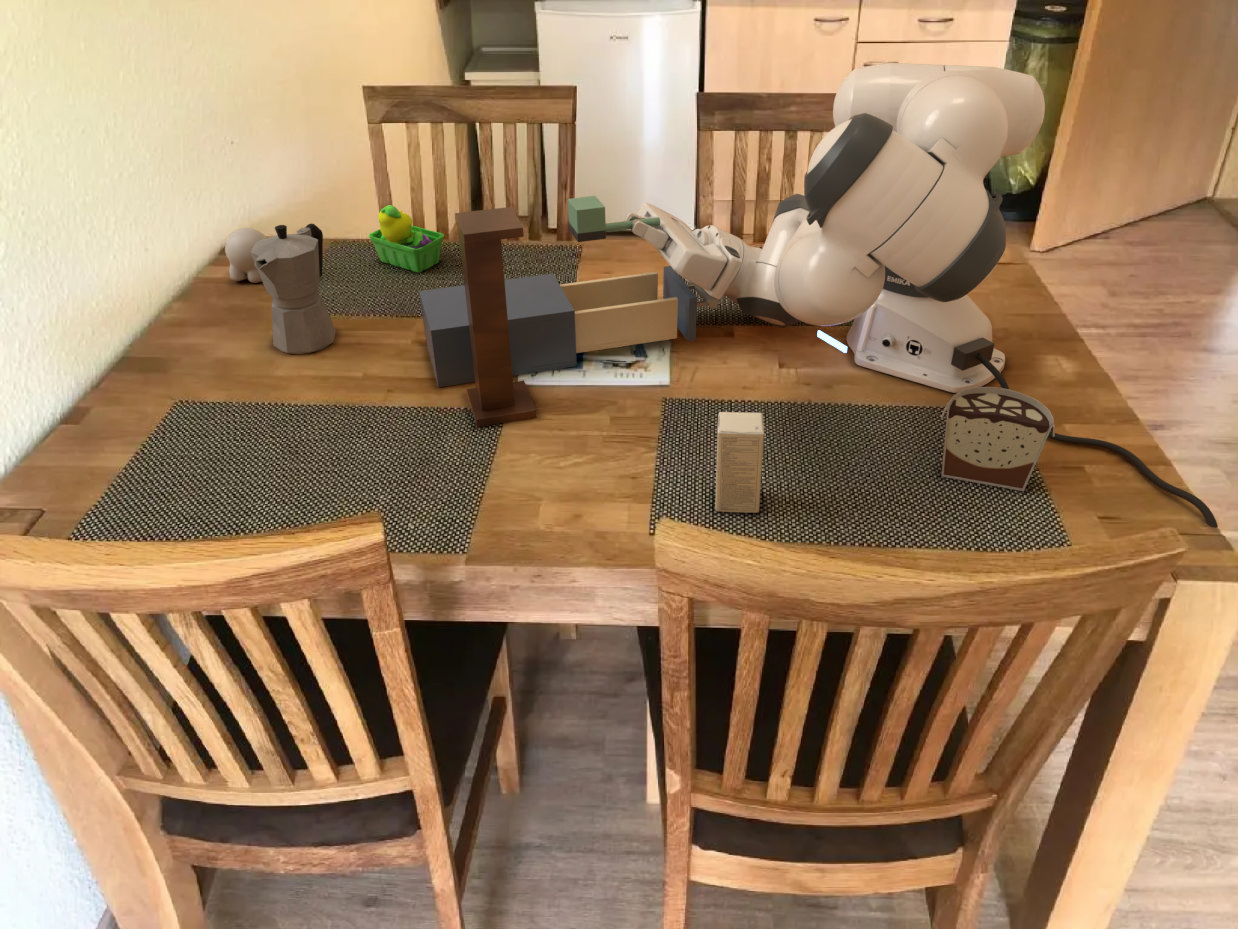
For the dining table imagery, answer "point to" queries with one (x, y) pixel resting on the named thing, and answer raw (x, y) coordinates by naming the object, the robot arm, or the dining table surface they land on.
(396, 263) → the fruit basket
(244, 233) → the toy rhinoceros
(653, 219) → the brush
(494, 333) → the pedestal
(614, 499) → the dining table surface
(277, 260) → the coffeepot
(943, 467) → the food container
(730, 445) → the box
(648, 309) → the drawer
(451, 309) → the cabinet
